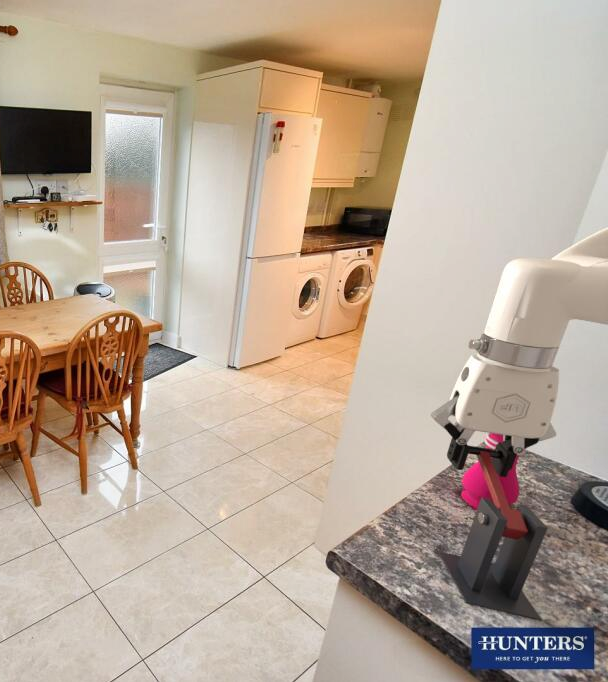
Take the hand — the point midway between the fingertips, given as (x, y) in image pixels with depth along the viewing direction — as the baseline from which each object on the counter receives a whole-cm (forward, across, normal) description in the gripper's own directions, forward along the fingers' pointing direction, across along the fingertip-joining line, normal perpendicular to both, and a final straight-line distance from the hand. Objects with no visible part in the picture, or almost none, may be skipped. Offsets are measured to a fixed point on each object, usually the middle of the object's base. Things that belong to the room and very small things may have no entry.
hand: (476, 467), depth 65 cm
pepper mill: (+13, +8, +10) cm, 18 cm away
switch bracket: (+13, 0, -10) cm, 16 cm away
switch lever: (+1, 0, -5) cm, 5 cm away
